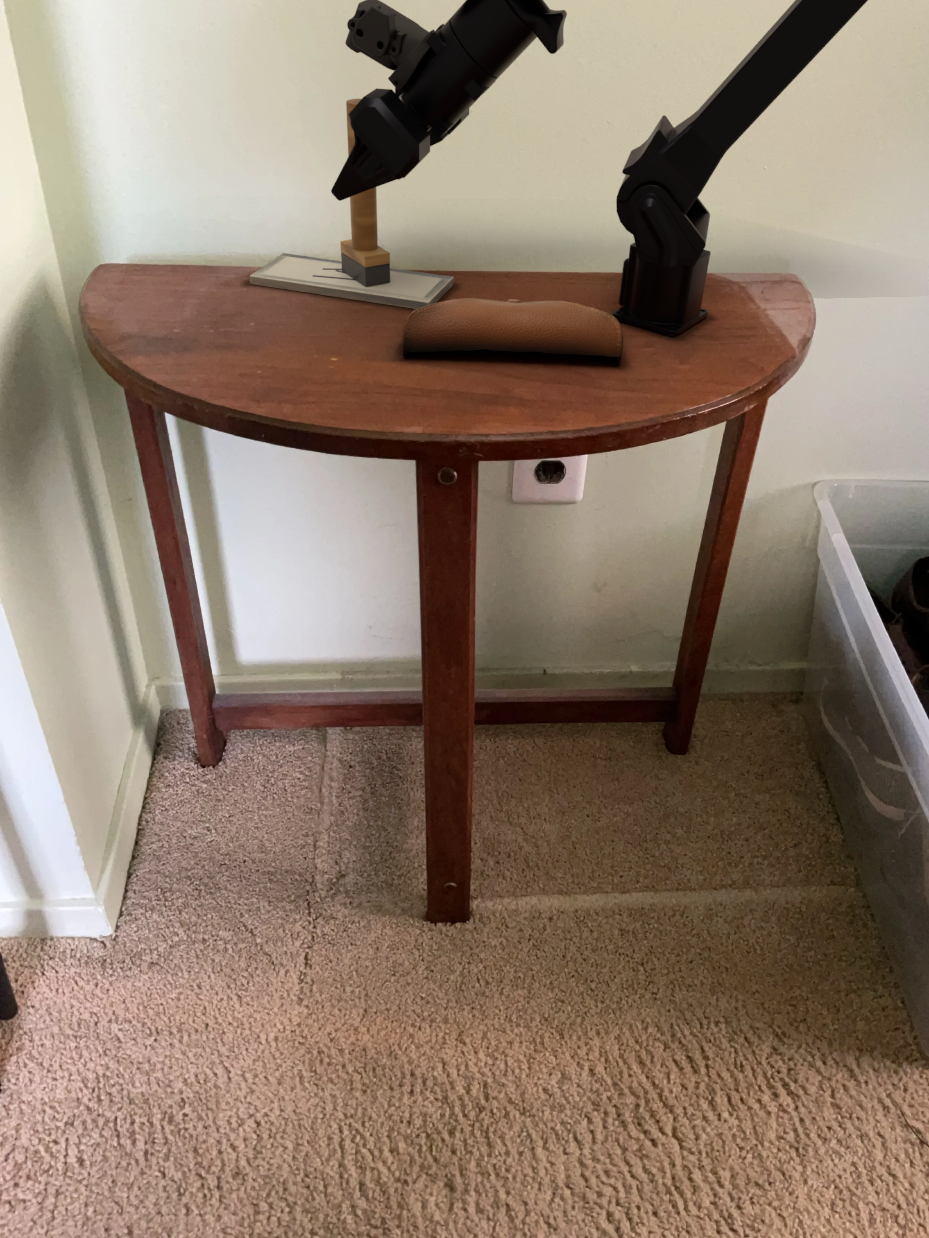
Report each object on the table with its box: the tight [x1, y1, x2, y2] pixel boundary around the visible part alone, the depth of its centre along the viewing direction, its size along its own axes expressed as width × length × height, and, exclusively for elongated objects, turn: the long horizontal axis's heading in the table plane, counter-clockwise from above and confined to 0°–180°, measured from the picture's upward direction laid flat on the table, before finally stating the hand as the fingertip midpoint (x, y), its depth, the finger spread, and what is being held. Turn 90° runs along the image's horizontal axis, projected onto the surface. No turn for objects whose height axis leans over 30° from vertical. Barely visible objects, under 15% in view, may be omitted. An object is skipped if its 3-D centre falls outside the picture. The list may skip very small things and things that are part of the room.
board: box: [249, 252, 454, 310], centre depth 94 cm, size 18×7×1 cm, turn 71°
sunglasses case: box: [402, 297, 624, 363], centre depth 83 cm, size 18×7×7 cm, turn 88°
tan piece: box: [340, 98, 391, 287], centre depth 89 cm, size 5×3×15 cm, turn 32°
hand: (352, 181), depth 88 cm, fingers open, 9 cm apart
